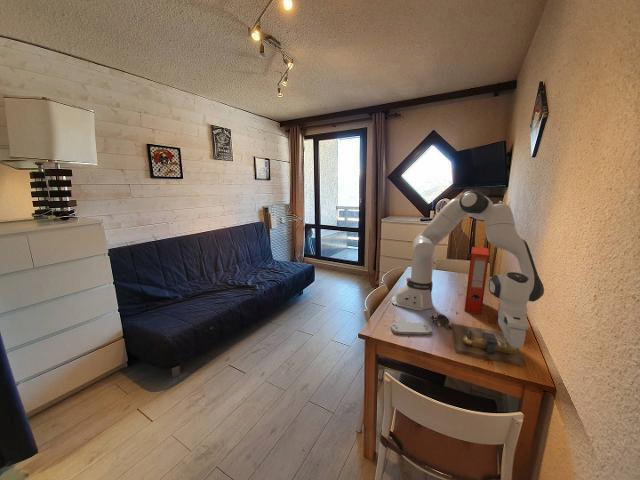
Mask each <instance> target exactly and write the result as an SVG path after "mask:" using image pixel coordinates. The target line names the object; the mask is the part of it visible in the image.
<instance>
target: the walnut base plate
mask: <svg viewBox="0 0 640 480" xmlns="http://www.w3.org/2000/svg"><path fill="white" fill-rule="evenodd" d="M451 328H452V329H451V330H452V336H453V337H452V338H453V342H454V343H453V344H454V350H455V354H461V355H465V356H471V357H475V358H479V359H486V360H490V361H495V362H500V363H505V364H510V365H516V366H521V367H526V361H525V359H524V358H523V356H522V353H521V352H520V349H517V351H516V355H515V354H509V353H504V352H499V351H494V355H493V354H488V353H486V350H485V349H484V348H479V347H474V346H467V345H465V344H464V343H463V337H464V336H466V335H467V332H468V331H471V332H472V337H475V338H481V339H483V336H482V334H483V332H484V333H490V334H494V335H495V337H496V340H497V342H503V343H504V333H503V332H502V331H499V330H494V329H493V330H492V329H487V328H482V327H475V326H470V325H464V324H463V325H462V324H456V323H451Z"/></svg>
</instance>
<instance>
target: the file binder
mask: <svg viewBox="0 0 640 480" xmlns="http://www.w3.org/2000/svg"><path fill="white" fill-rule="evenodd" d="M489 259H490V253H489V248H487V247H477V246H472V247H471V253H470V259H469V268H468V277H467V278H468V279H467V285H466V296H465V303H464V312H466V313H473V314H477V315H482V312H483V304H484V296H485V289H486V281H487V272H488V266H489Z"/></svg>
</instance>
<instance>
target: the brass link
mask: <svg viewBox="0 0 640 480" xmlns="http://www.w3.org/2000/svg"><path fill="white" fill-rule="evenodd" d="M463 343H464V344H465V345H467V346H474V347H479V348H484V349H485V348H486V344H485V342H484V339H481V338H475V337H472V332H471V331H468V332H467V335H466V336H464V337H463ZM494 351H499V352H504V353H509V354H515V355H516V351H517V349H516V348H511V347H510V345H509V344H508V343H503V342H498V346H495V350H494Z"/></svg>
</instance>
